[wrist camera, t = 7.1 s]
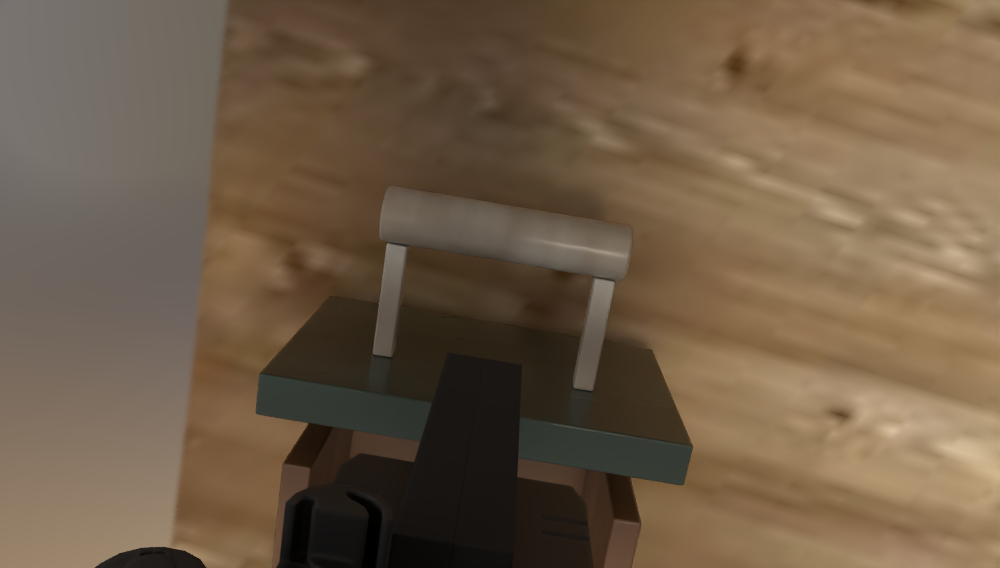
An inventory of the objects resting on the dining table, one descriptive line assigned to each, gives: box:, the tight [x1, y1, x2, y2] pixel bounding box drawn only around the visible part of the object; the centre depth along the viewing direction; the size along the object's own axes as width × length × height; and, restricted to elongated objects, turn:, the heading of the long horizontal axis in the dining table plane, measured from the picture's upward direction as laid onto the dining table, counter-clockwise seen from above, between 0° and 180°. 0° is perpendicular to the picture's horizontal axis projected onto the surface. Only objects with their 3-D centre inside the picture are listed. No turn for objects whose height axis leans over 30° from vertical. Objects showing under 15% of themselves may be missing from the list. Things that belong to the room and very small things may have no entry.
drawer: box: [256, 186, 693, 568], centre depth 27 cm, size 19×12×8 cm, turn 171°
